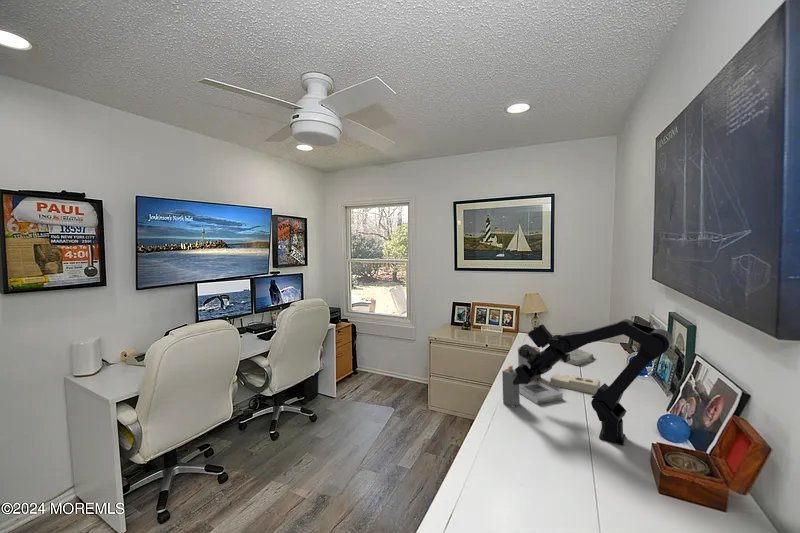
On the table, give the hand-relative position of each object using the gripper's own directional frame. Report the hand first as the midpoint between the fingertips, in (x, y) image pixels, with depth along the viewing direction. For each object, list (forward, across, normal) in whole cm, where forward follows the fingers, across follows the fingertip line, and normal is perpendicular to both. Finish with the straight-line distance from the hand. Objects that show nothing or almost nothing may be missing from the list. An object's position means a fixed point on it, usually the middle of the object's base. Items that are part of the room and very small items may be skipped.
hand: (519, 380), depth 127 cm
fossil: (+13, -70, +3) cm, 72 cm away
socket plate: (+8, -15, +7) cm, 18 cm away
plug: (+10, 0, +5) cm, 11 cm away
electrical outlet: (+2, -32, +14) cm, 35 cm away
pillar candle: (+15, -29, 0) cm, 33 cm away
